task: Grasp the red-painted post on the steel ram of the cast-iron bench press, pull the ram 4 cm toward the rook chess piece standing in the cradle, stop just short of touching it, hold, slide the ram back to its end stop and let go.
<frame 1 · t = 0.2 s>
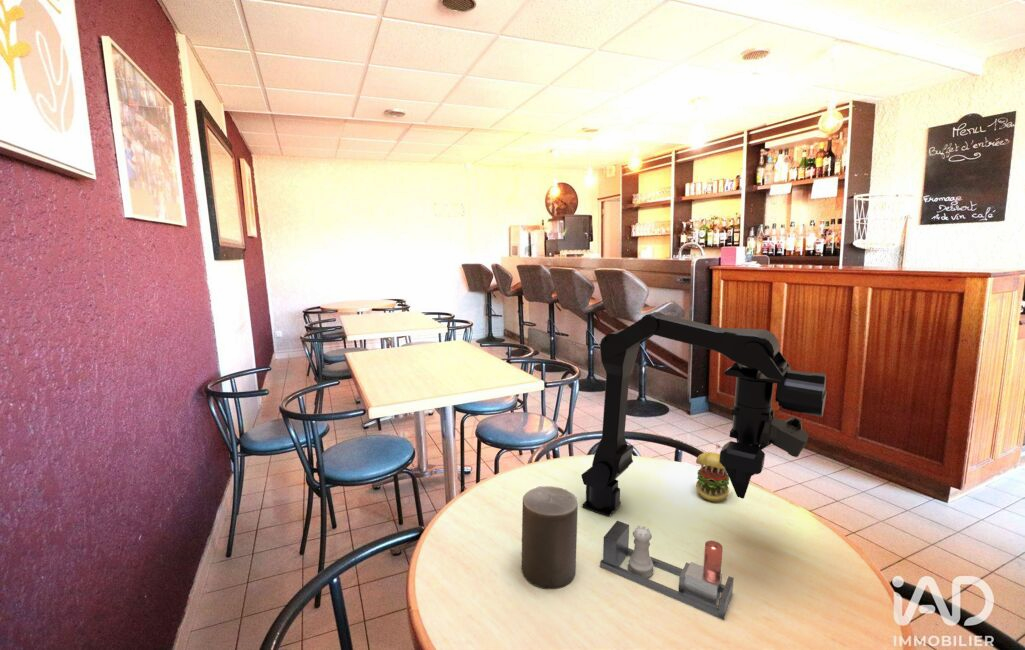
hand: (745, 485, 84), 14 cm above the table, fingers open, 9 cm apart
ram: (701, 568, 77), point 5 cm above the table, slide at 0.0 cm
press bed: (663, 579, 81), on the table
rook chess piece: (640, 571, 84), resting in press bed
hamburger: (711, 496, 107), on the table
pillar candle: (549, 570, 84), on the table
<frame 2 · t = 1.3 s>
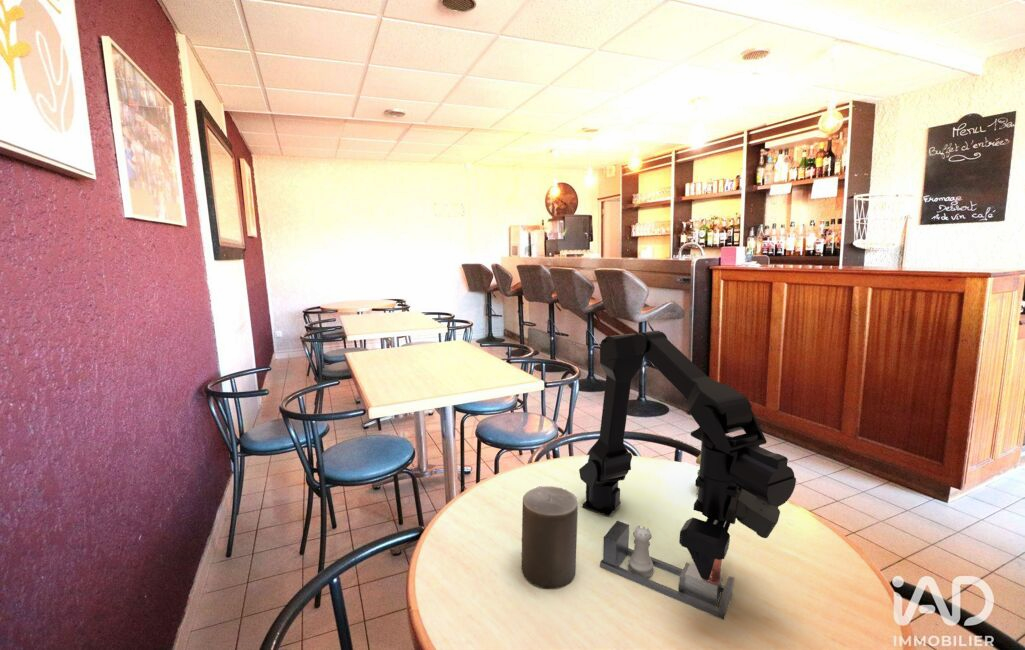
hand: (712, 562, 76), 7 cm above the table, fingers open, 9 cm apart
nothing on the table moved.
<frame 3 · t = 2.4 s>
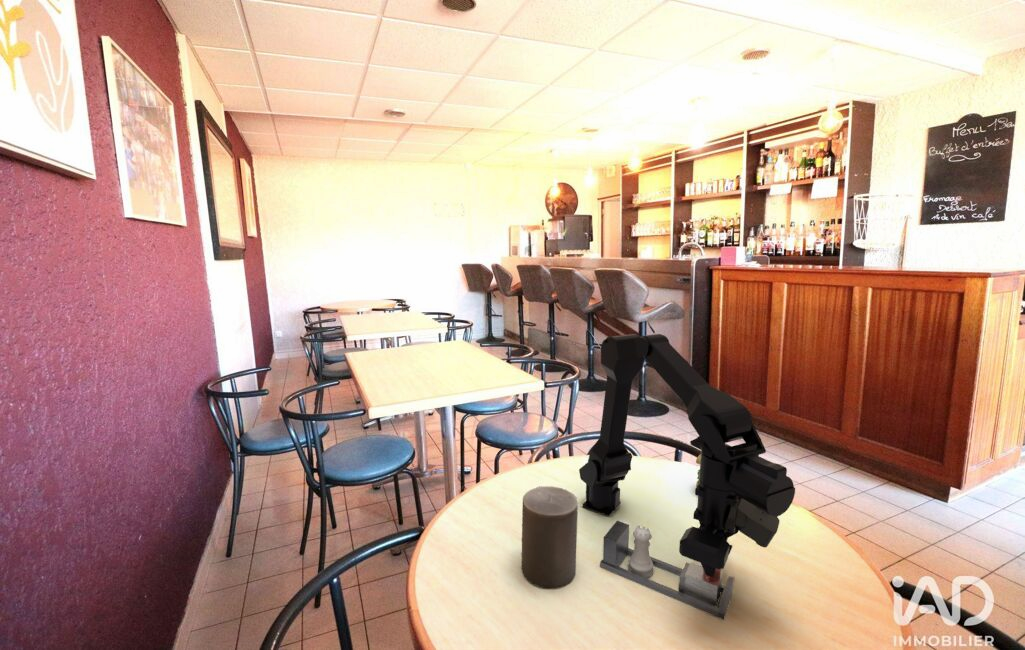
hand: (711, 570, 76), 5 cm above the table, fingers closed on ram, 3 cm apart
ram: (701, 568, 77), point 5 cm above the table, slide at 0.0 cm, touching gripper
everything else where it was.
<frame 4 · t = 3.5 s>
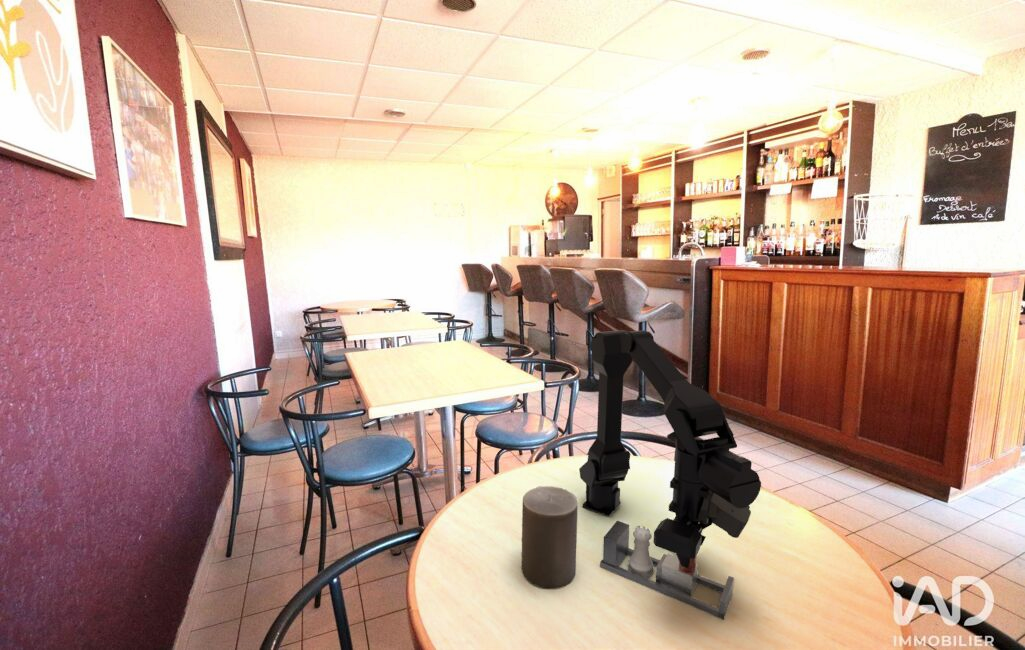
hand: (687, 561, 78), 5 cm above the table, fingers closed on ram, 3 cm apart
ram: (677, 559, 79), point 5 cm above the table, slide at 3.9 cm, touching gripper
everything else where it was.
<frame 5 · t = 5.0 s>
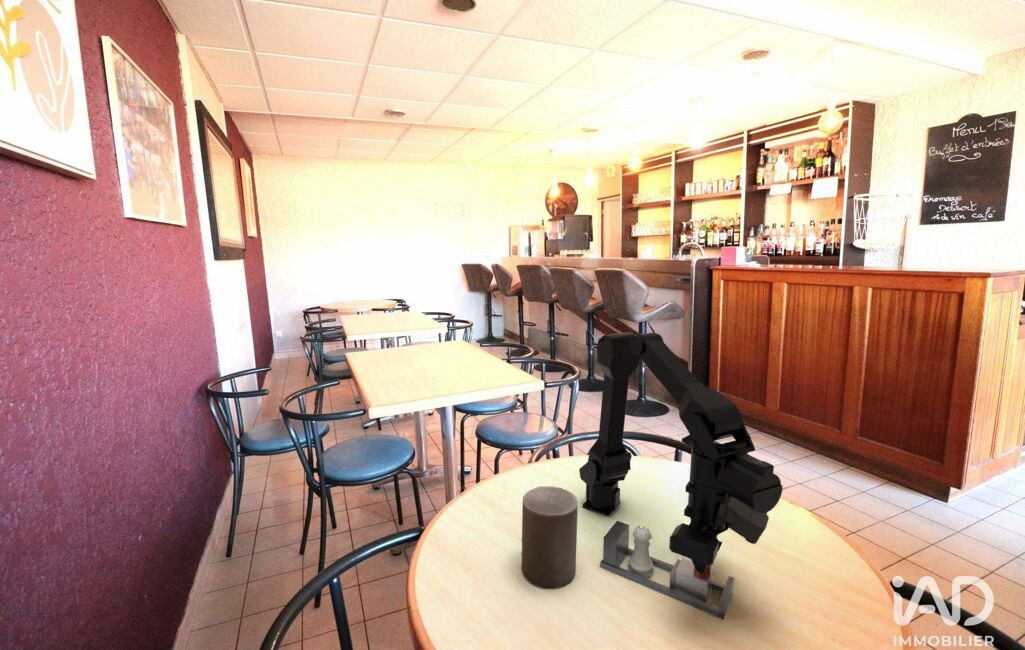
hand: (702, 566, 77), 5 cm above the table, fingers closed on ram, 3 cm apart
ram: (692, 564, 78), point 5 cm above the table, slide at 1.5 cm, touching gripper
everything else where it was.
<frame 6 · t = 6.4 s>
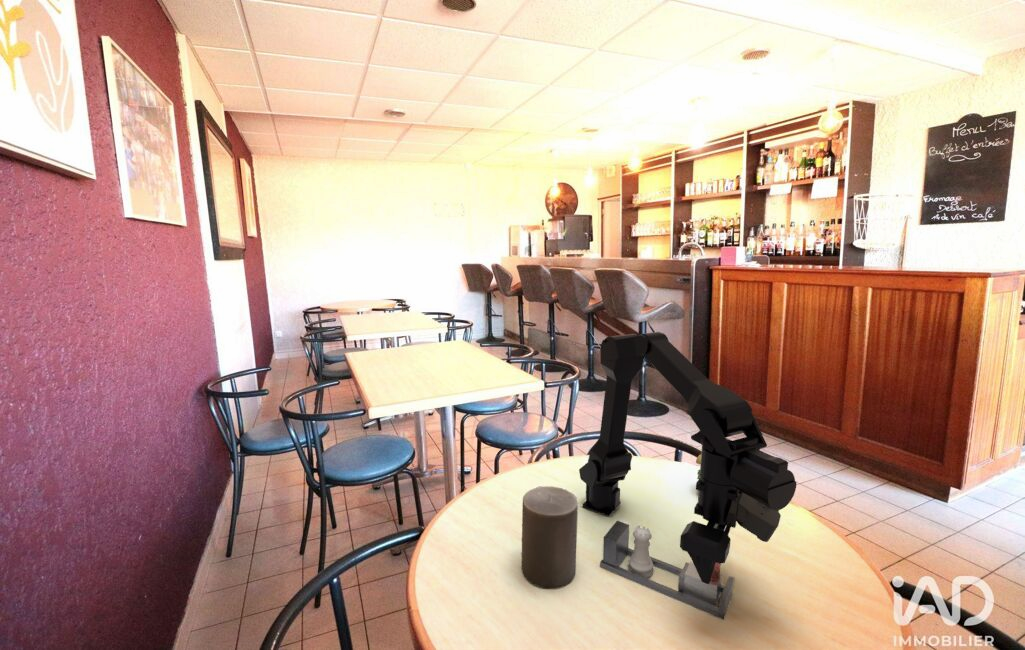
hand: (712, 565, 76), 6 cm above the table, fingers open, 9 cm apart
ram: (701, 568, 77), point 5 cm above the table, slide at 0.1 cm
everything else where it was.
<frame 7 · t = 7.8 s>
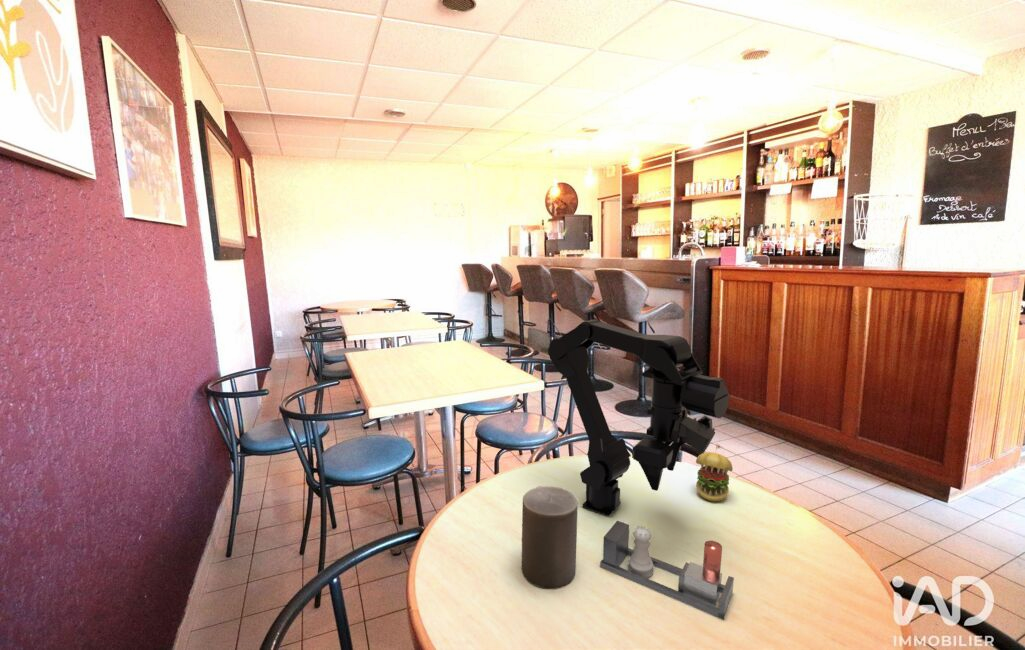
hand: (662, 479, 91), 12 cm above the table, fingers open, 9 cm apart
nothing on the table moved.
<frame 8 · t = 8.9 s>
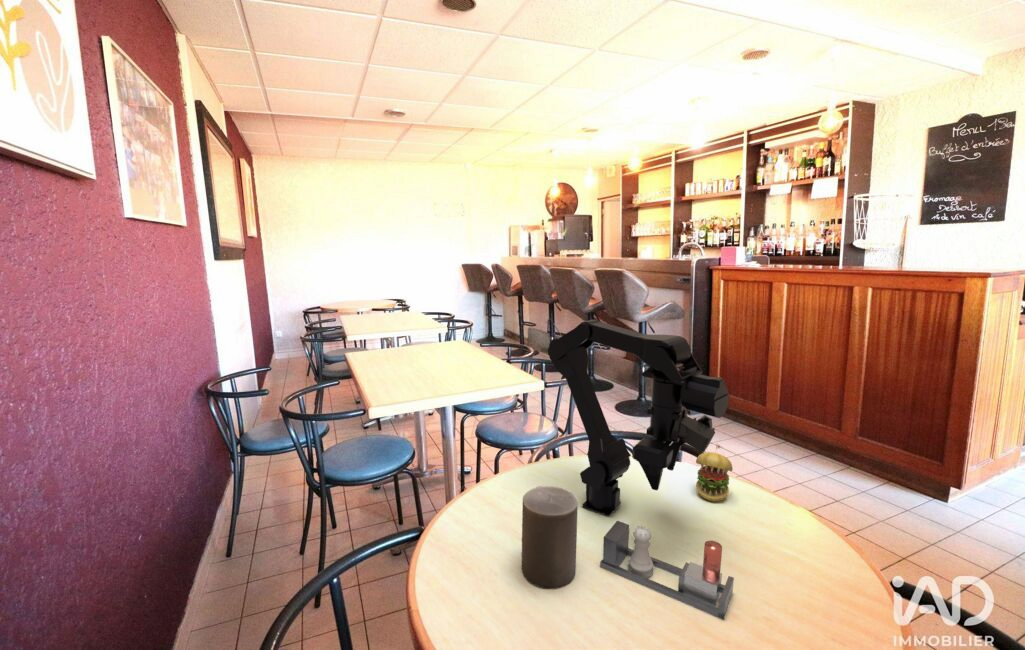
hand: (662, 479, 91), 12 cm above the table, fingers open, 9 cm apart
nothing on the table moved.
at the end: ram slide at 0.1 cm; rook chess piece moved 0.2 cm from its start; the gripper is holding nothing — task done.
